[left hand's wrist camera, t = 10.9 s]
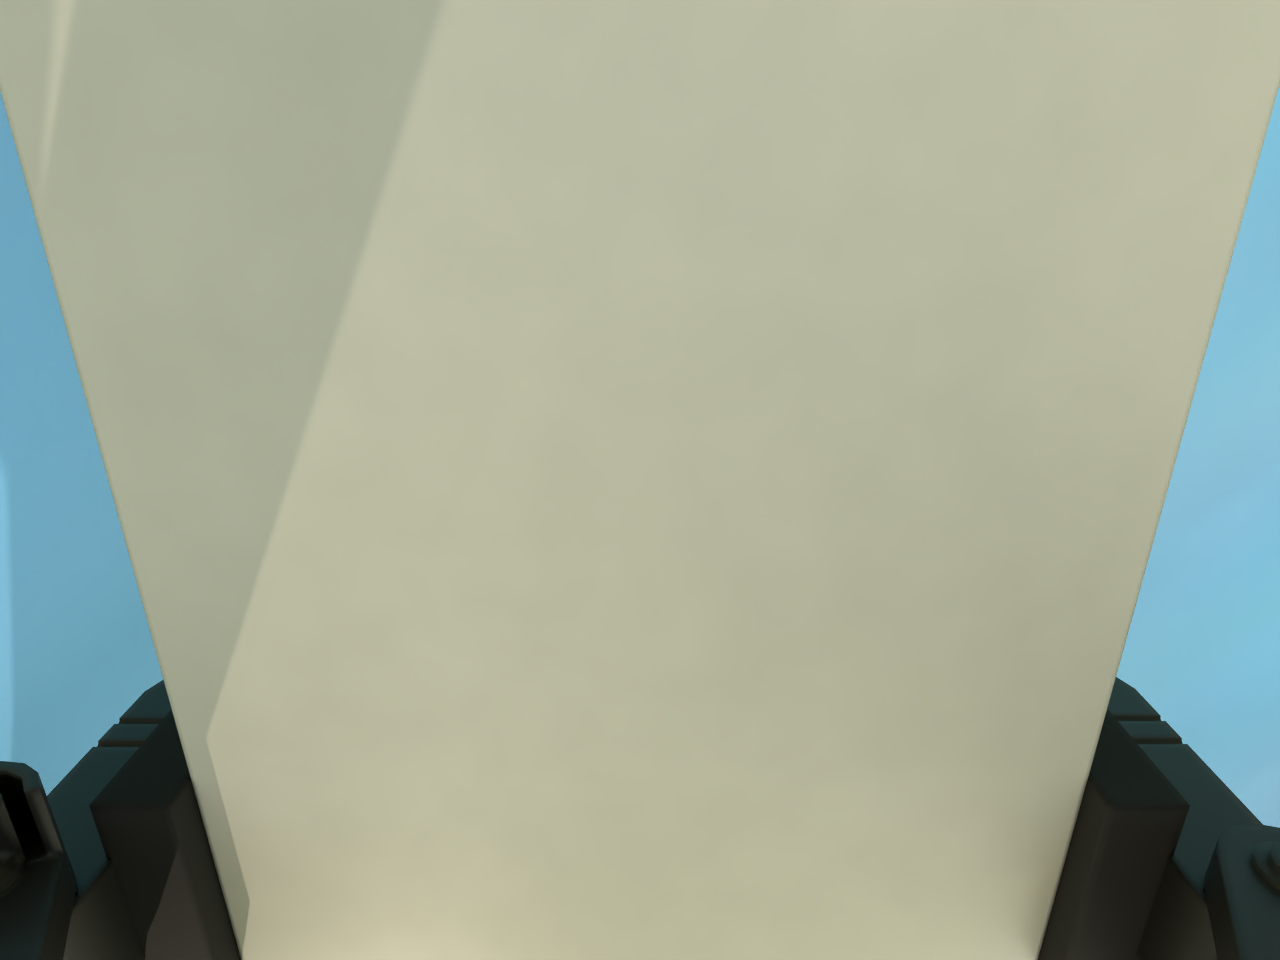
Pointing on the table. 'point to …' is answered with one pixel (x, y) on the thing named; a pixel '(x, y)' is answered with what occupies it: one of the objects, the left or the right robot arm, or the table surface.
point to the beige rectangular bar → (639, 440)
